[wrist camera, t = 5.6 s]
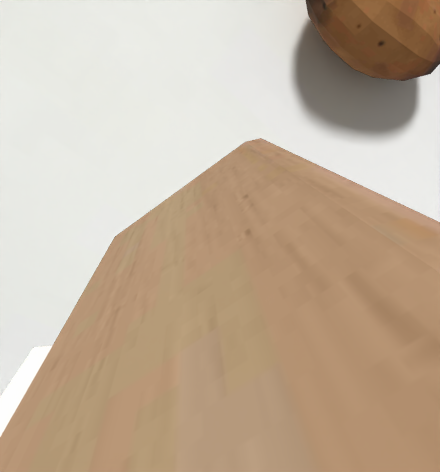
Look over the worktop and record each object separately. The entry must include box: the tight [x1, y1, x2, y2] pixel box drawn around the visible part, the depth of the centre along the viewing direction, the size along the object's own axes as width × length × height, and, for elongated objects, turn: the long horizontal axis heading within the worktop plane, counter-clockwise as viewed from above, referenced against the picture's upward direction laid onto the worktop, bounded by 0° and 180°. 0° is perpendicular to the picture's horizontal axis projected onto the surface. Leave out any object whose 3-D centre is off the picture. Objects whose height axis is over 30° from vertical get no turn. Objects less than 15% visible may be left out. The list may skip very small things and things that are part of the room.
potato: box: [306, 0, 440, 81], centre depth 29 cm, size 8×14×8 cm
